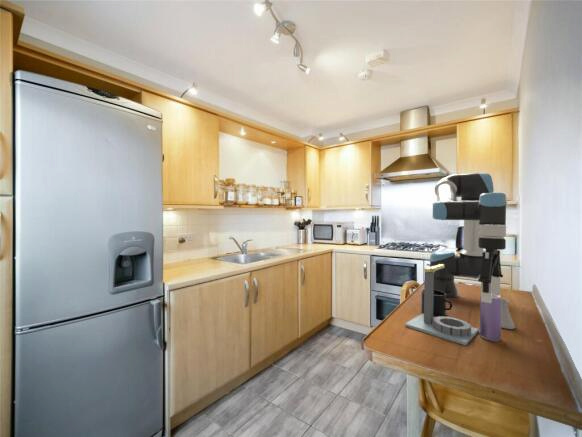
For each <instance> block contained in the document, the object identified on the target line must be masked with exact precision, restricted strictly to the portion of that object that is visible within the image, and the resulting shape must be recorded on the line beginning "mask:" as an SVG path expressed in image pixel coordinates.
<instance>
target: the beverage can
mask: <svg viewBox="0 0 582 437" xmlns="http://www.w3.org/2000/svg"><path fill="white" fill-rule="evenodd" d="M479 299H480V300H479V335H480V337H481V338H482V339H484V340H487V341H491V342H499V341H500V340H501V339H502V328H501V309H502V300H501V299H502V296H501V295H500V296H499V295H496V294H492V303H486V302H481V295H480V296H479Z"/></svg>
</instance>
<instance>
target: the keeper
mask: <svg viewBox="0 0 582 437" xmlns="http://www.w3.org/2000/svg"><path fill="white" fill-rule="evenodd" d="M444 267H445V265H443V264H439V265H436V266H432V267H430V266H429V267H424V268H423V272H424V273H425V272H429V273H434V272H435V271H436V270H439V269H442V268H444Z"/></svg>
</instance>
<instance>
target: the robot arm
mask: <svg viewBox="0 0 582 437" xmlns="http://www.w3.org/2000/svg"><path fill="white" fill-rule="evenodd" d="M494 190H495V189H494V182H493V178H492V176H491V174H490V173H488V172H477V173H461V174H457V173H455V174H450V175H448V176H446V177H445V176H444V177H443V178H442V179H440V180H439V181H438V182H437V183H436V184H435V187H434V193H435V196H436V197H437V198H436V199H437V201H434V202H433V203H432V219H433V220H437V221H439V220H440V221H463V237H462V238H463V240H462V241H463V243H462V244H463V245H462V249H460V250H459V254H456V253H455V251H444V250H442V251H435V252H431V254H430V256H429V257H430V259H429V267H432V266H436V265H439V264H443V265H445V267H444V268H442V269H439V270H436V271H435V272H434V290H438V291H442V292H444V293H446V299H455V298H457V297H458V296H459V292H458V288H457V286H456V282H455V277H458V278H468V279H475V280H476V279H478V282H479V283H480V287H481V288H480V296H481V302H486V303H492V294H496V295H499V296H501V278H504V274H503V273H502V266H501V265H502V264H501V251H502V250H506V247H507V246H506V245H507V244H506V243H507V242H506V239H505V237H507V224H506V223H507V218H506V217H507V203H508V201H507V195H506V193H504V192H494ZM458 198H460V199H461V200H458Z"/></svg>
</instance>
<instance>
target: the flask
mask: <svg viewBox="0 0 582 437" xmlns="http://www.w3.org/2000/svg"><path fill="white" fill-rule="evenodd" d="M501 300H502V309H501V329H502V328H503V329H506V330H513V329H516V326H515V323H514V321H513V319H512V316H511V313H510V310H509V303H510V301H509V300H507V299H505V298H504V299H503V298H501Z"/></svg>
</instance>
